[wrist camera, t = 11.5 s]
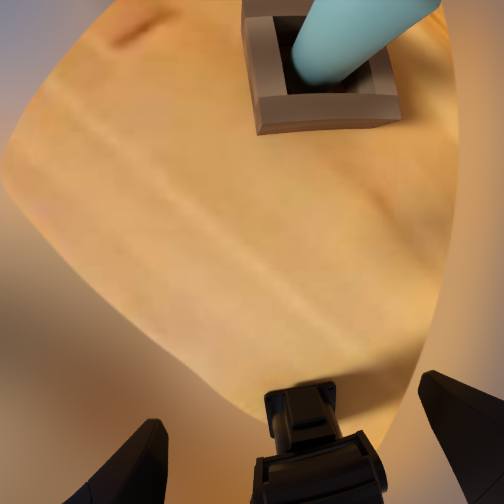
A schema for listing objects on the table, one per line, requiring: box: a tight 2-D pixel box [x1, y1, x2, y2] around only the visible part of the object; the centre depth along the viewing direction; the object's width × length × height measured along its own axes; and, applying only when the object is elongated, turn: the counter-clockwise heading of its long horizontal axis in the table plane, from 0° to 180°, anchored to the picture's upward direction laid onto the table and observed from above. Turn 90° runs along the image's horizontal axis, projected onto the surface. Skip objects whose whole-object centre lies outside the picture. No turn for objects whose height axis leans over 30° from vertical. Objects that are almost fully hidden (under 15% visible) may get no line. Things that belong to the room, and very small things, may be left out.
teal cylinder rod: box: [283, 0, 441, 94], centre depth 11 cm, size 4×4×13 cm
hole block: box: [241, 0, 402, 136], centre depth 15 cm, size 8×8×4 cm
